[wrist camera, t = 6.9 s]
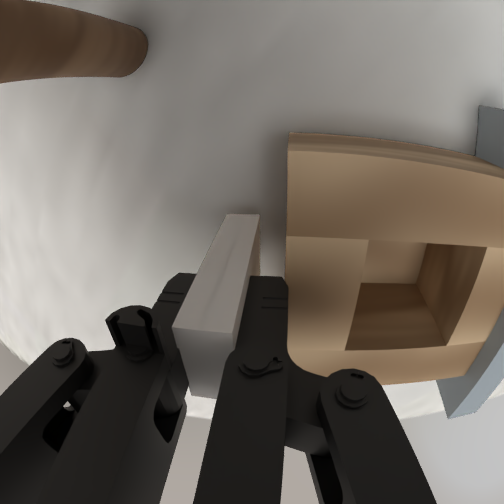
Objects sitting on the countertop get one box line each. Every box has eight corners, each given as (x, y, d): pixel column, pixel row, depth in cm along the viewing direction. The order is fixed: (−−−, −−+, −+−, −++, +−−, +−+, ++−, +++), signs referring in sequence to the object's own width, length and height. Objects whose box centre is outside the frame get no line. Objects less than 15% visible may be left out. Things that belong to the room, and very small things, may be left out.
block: (288, 132, 11) (287, 150, 7) (476, 156, 10) (542, 190, 6) (284, 310, 15) (278, 384, 11) (435, 311, 14) (464, 375, 10)
